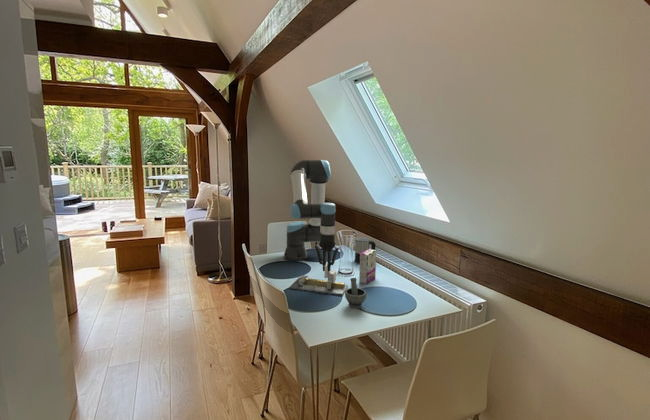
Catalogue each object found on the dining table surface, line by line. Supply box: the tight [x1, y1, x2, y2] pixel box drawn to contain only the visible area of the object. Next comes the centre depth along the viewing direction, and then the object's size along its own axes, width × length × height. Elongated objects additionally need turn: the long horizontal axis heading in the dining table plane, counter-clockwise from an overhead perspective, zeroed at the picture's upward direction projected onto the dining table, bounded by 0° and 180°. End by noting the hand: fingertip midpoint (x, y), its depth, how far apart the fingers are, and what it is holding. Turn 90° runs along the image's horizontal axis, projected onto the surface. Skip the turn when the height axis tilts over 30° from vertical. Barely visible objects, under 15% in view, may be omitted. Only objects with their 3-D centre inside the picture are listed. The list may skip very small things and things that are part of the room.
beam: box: [297, 275, 346, 288], centre depth 182 cm, size 7×25×3 cm, turn 73°
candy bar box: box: [358, 248, 377, 285], centre depth 192 cm, size 11×5×16 cm, turn 147°
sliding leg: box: [326, 270, 337, 289], centre depth 180 cm, size 8×3×7 cm, turn 163°
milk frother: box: [354, 237, 376, 264], centre depth 229 cm, size 14×16×15 cm
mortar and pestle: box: [344, 277, 367, 310], centre depth 162 cm, size 11×9×12 cm
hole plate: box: [289, 278, 349, 297], centre depth 182 cm, size 12×28×1 cm, turn 73°
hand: (326, 277), depth 183 cm, fingers closed
